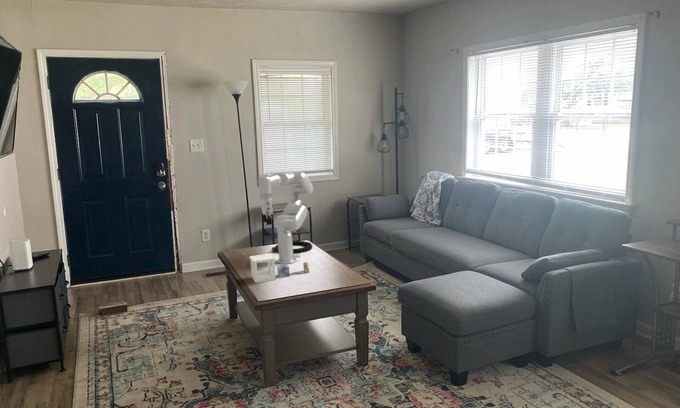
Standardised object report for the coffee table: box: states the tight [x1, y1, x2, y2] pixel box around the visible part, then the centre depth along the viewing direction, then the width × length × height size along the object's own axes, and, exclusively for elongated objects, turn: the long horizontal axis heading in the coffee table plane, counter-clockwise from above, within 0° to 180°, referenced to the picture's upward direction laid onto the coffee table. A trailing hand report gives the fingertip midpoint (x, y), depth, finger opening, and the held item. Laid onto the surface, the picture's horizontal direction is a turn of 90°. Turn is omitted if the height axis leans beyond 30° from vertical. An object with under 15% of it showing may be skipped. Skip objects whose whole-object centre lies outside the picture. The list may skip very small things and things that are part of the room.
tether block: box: [276, 261, 310, 278], centre depth 320 cm, size 19×6×6 cm, turn 110°
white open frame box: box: [249, 253, 276, 284], centre depth 313 cm, size 13×13×13 cm
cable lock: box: [271, 240, 313, 255], centre depth 381 cm, size 28×4×30 cm
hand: (267, 223), depth 327 cm, fingers open, 9 cm apart
